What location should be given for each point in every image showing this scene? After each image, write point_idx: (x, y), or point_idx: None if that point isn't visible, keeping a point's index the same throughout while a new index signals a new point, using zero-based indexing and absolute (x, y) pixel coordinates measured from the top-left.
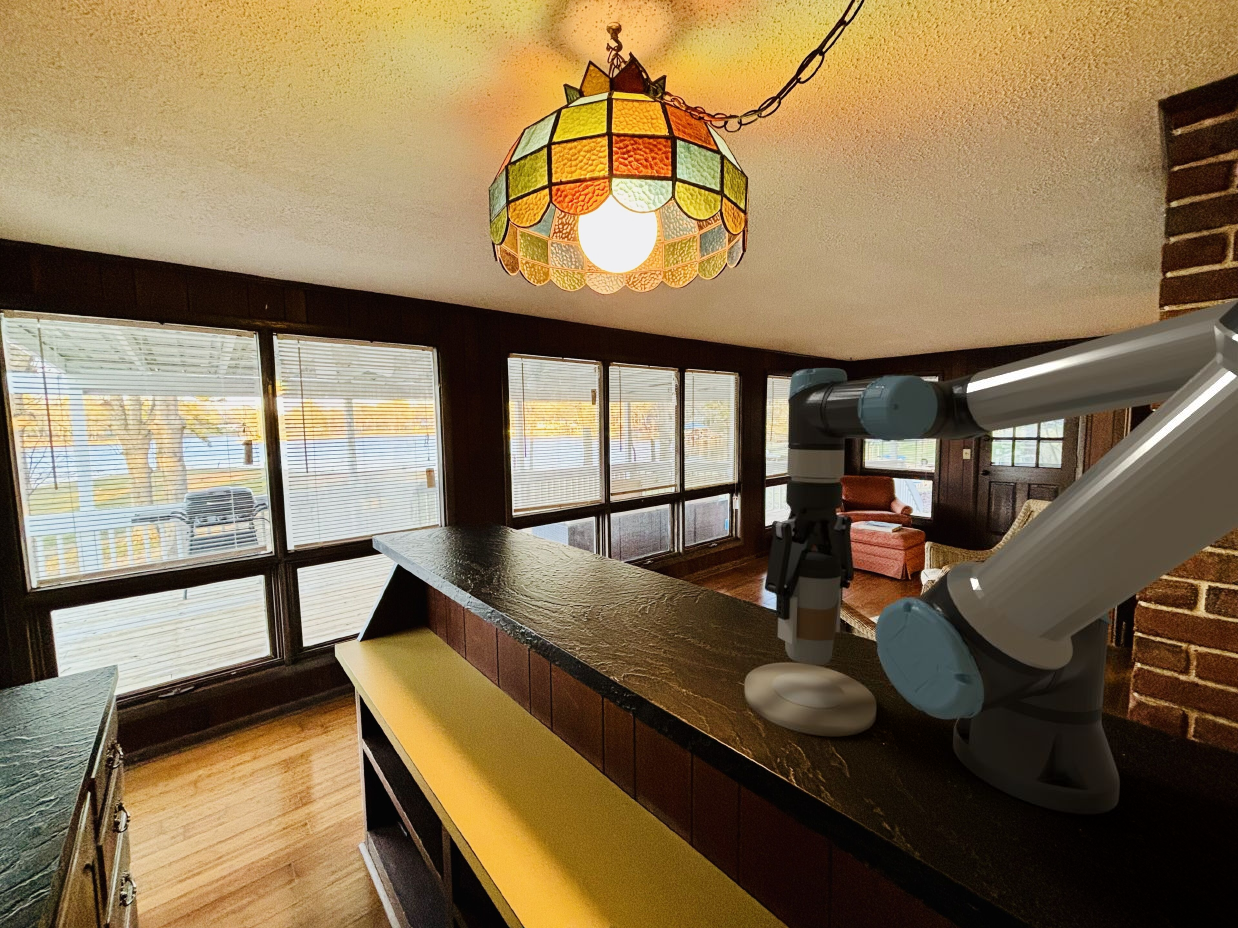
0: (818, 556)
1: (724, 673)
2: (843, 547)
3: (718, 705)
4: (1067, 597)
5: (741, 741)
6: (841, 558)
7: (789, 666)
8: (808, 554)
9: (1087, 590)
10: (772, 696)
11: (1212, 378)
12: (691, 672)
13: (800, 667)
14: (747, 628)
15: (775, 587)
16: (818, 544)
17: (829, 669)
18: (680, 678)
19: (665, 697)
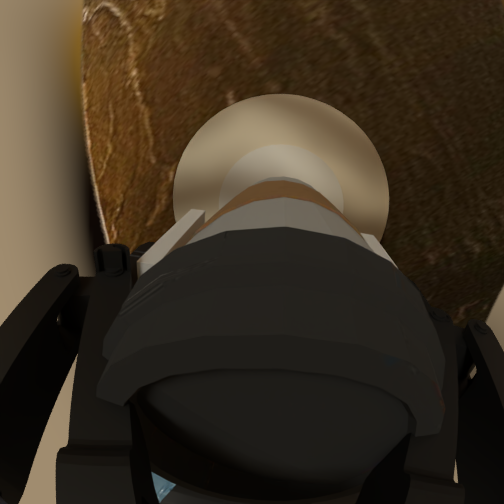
0: (309, 462)
1: (233, 55)
2: (467, 476)
3: (145, 134)
4: None
5: (118, 217)
6: (467, 419)
7: (336, 130)
8: (314, 429)
9: None
10: (209, 184)
11: None
12: (185, 28)
13: (351, 146)
14: None
15: (58, 320)
16: (386, 498)
17: (386, 187)
18: (154, 39)
19: (101, 81)
